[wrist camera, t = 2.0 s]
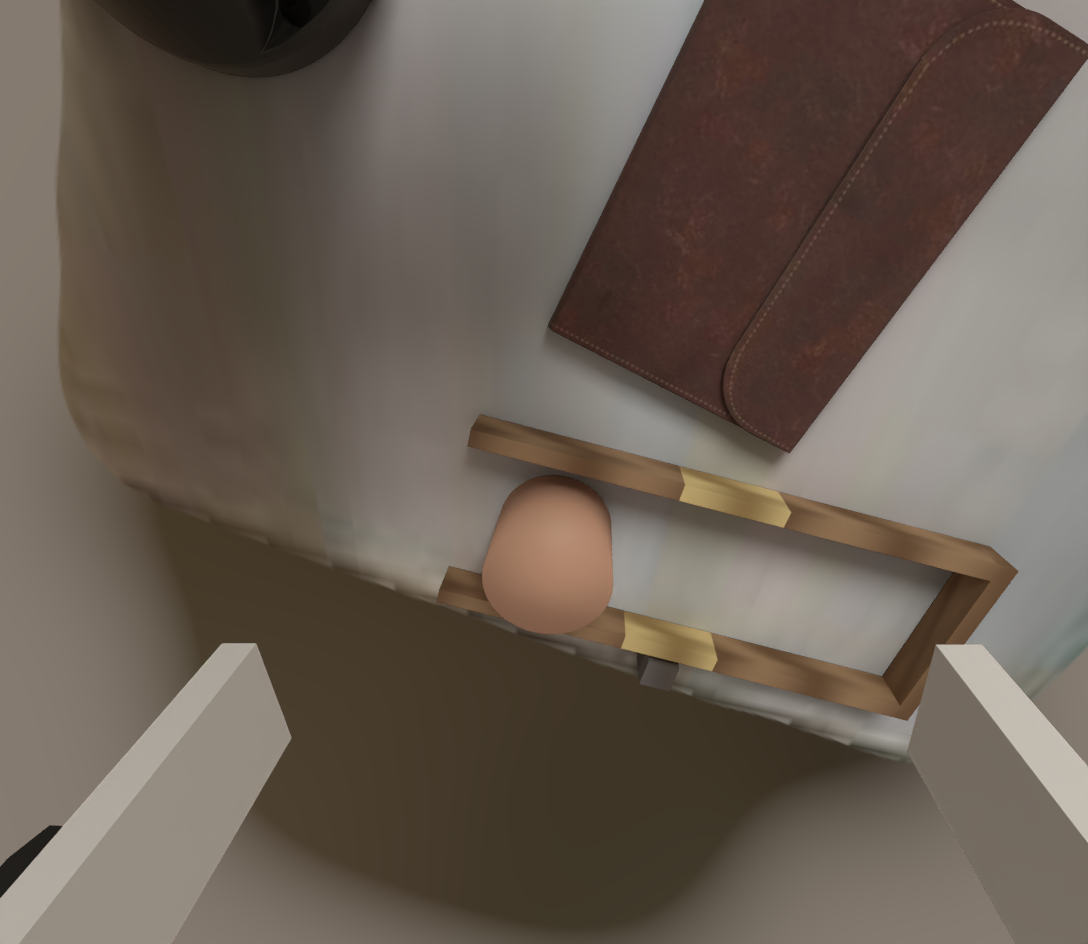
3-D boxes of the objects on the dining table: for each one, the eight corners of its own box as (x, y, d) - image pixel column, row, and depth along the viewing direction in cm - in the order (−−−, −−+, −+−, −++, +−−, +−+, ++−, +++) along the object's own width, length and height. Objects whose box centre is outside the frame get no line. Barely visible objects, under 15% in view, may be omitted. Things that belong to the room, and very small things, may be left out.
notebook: (549, 322, 31) (545, 329, 29) (766, -129, 22) (780, -158, 21) (784, 443, 32) (795, 456, 31) (1066, 63, 24) (1104, 51, 22)
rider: (490, 556, 37) (471, 616, 32) (512, 462, 34) (496, 510, 29) (593, 583, 37) (592, 647, 32) (625, 491, 34) (630, 545, 29)
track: (441, 607, 39) (431, 631, 37) (479, 414, 33) (470, 429, 30) (871, 715, 40) (887, 746, 37) (990, 546, 33) (1018, 571, 31)
